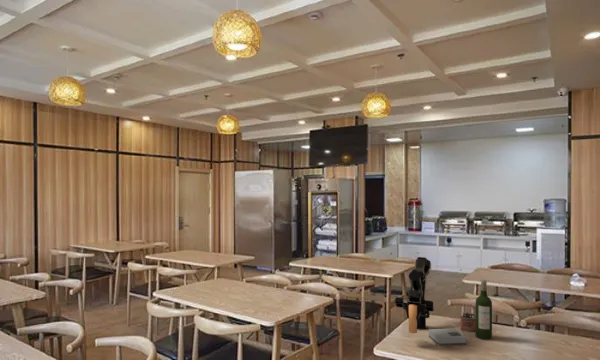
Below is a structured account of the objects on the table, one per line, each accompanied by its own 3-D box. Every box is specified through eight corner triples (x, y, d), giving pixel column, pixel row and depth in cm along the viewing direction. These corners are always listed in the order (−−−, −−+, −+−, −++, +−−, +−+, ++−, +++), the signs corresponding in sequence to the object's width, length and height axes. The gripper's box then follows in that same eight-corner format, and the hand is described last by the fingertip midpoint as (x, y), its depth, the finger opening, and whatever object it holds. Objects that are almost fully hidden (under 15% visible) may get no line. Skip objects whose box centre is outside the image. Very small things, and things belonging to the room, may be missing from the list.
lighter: (460, 330, 226) (460, 312, 226) (460, 328, 229) (460, 310, 229) (475, 333, 222) (475, 314, 222) (476, 331, 225) (476, 312, 225)
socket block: (428, 337, 215) (428, 329, 215) (454, 336, 217) (454, 328, 217) (439, 345, 203) (439, 337, 203) (466, 344, 205) (466, 336, 205)
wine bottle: (488, 335, 219) (488, 278, 220) (494, 340, 211) (494, 281, 212) (473, 334, 220) (473, 278, 221) (478, 339, 212) (478, 281, 213)
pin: (407, 330, 205) (407, 304, 206) (415, 330, 206) (415, 304, 206) (410, 333, 201) (410, 306, 202) (418, 333, 202) (418, 306, 202)
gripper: (395, 281, 211) (391, 308, 201) (433, 284, 204) (430, 313, 194) (398, 293, 218) (394, 319, 208) (434, 297, 211) (432, 325, 201)
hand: (412, 319), depth 202 cm, fingers closed on pin, 4 cm apart
